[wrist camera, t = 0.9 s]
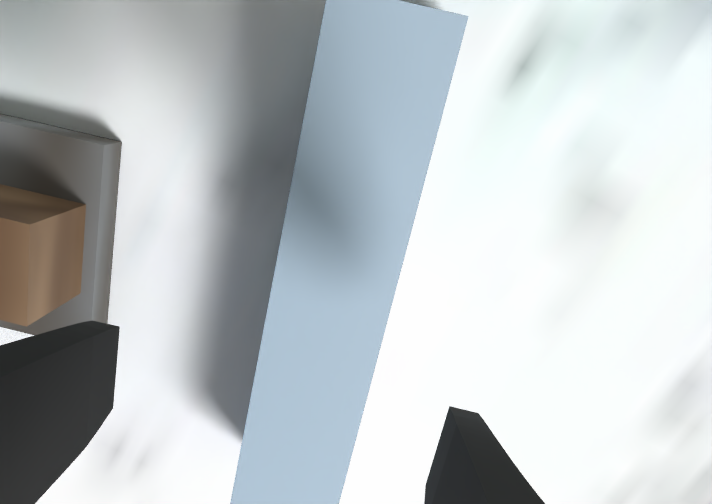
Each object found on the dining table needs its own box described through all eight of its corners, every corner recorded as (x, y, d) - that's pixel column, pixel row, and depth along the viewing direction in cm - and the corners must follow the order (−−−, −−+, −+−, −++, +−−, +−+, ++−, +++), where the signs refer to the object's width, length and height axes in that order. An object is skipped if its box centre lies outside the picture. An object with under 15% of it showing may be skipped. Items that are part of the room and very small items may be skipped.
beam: (339, 473, 24) (320, 571, 19) (261, 453, 24) (222, 544, 19) (454, 34, 18) (468, 16, 13) (352, 11, 18) (329, -16, 13)
